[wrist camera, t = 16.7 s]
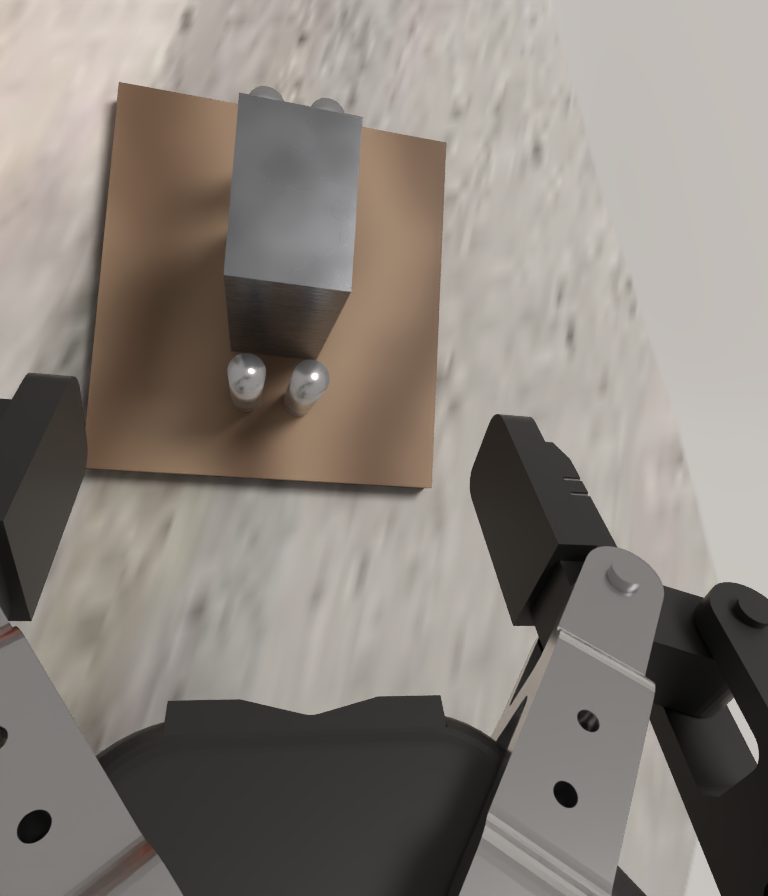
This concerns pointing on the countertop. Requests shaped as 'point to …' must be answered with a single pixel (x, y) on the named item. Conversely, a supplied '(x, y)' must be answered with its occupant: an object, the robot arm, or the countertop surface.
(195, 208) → the pin tray
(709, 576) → the countertop surface
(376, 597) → the countertop surface
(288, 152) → the plate
